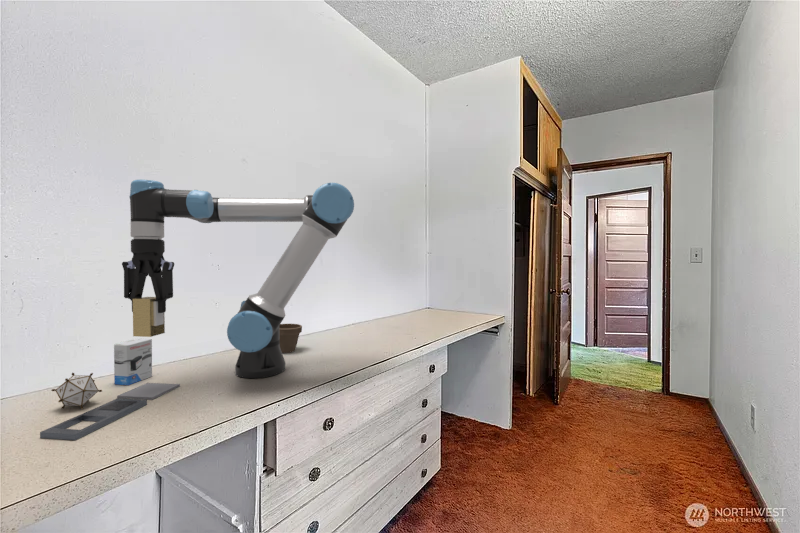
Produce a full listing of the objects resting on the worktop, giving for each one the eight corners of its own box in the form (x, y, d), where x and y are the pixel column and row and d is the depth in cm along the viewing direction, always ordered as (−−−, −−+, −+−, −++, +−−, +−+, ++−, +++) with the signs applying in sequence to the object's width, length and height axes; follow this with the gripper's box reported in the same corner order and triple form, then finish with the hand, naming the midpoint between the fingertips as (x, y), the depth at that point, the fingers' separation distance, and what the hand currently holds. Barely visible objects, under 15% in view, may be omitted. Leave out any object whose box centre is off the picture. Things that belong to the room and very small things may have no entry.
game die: (74, 425, 88) (48, 402, 82) (62, 405, 92) (36, 382, 86) (114, 398, 94) (93, 374, 88) (101, 380, 98) (80, 357, 92)
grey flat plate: (146, 404, 91) (146, 399, 91) (75, 440, 73) (75, 434, 73) (117, 403, 92) (117, 398, 92) (40, 438, 74) (40, 431, 74)
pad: (179, 386, 104) (179, 384, 104) (152, 399, 94) (152, 397, 94) (147, 384, 105) (147, 382, 105) (117, 397, 96) (117, 395, 96)
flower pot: (307, 348, 148) (307, 323, 148) (292, 356, 137) (292, 329, 137) (281, 347, 150) (281, 322, 150) (265, 354, 139) (265, 327, 139)
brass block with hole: (164, 332, 102) (164, 296, 102) (150, 336, 97) (150, 298, 97) (148, 332, 102) (147, 296, 102) (133, 336, 97) (132, 298, 97)
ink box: (127, 385, 105) (127, 344, 104) (113, 384, 106) (112, 344, 105) (153, 376, 113) (152, 338, 113) (140, 375, 114) (139, 337, 114)
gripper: (188, 239, 102) (189, 322, 102) (129, 239, 104) (130, 321, 104) (168, 237, 94) (169, 328, 95) (104, 238, 96) (106, 326, 97)
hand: (149, 324), depth 99 cm, fingers closed on brass block with hole, 5 cm apart
